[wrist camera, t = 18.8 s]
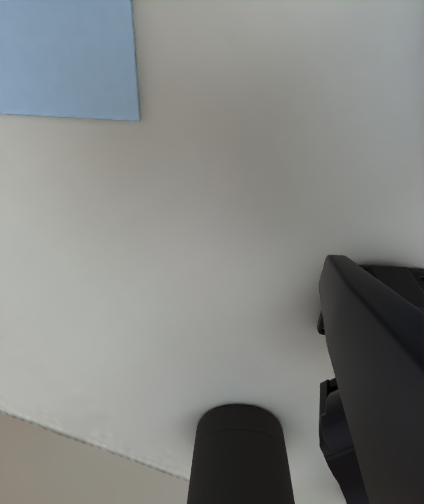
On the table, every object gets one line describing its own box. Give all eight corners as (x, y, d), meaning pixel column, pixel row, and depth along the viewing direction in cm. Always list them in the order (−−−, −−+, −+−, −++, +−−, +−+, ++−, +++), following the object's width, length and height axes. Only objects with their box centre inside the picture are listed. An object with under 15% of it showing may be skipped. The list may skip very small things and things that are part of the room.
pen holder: (186, 443, 39) (173, 560, 31) (203, 392, 34) (193, 518, 25) (269, 456, 40) (279, 575, 31) (299, 409, 34) (320, 536, 26)
